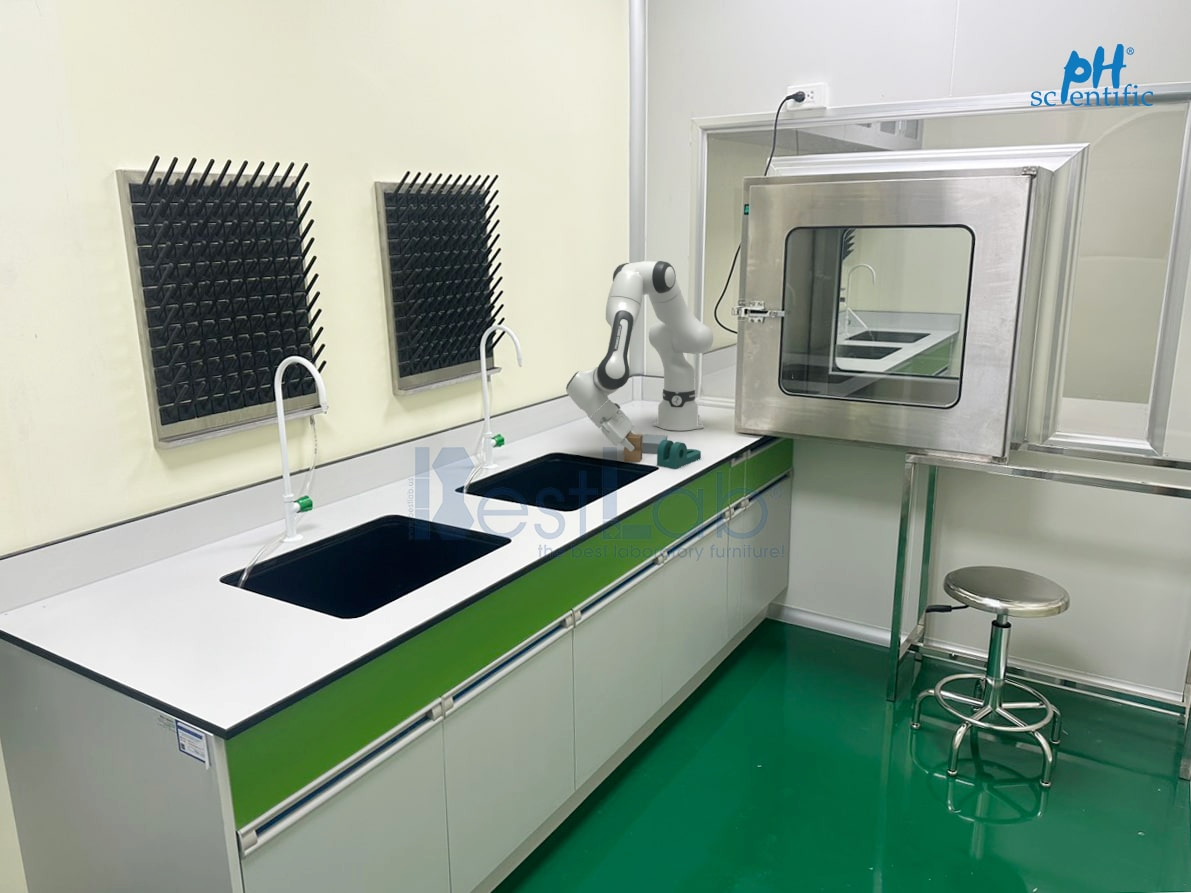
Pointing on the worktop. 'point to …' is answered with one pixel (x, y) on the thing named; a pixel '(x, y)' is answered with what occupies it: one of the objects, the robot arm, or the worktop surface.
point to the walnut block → (637, 452)
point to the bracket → (675, 454)
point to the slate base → (651, 443)
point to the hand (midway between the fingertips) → (635, 446)
